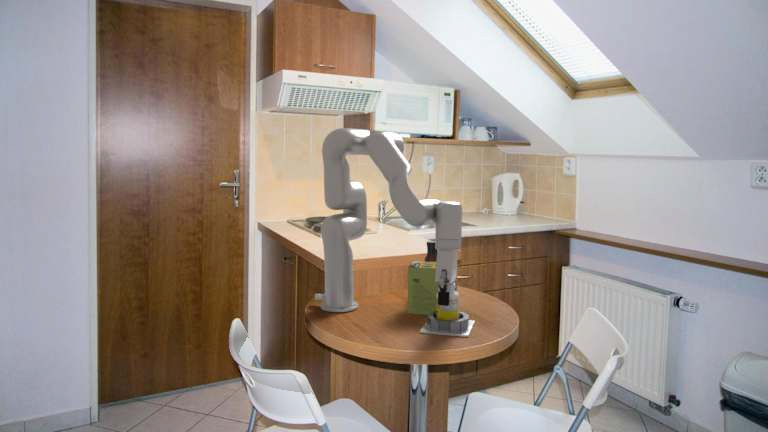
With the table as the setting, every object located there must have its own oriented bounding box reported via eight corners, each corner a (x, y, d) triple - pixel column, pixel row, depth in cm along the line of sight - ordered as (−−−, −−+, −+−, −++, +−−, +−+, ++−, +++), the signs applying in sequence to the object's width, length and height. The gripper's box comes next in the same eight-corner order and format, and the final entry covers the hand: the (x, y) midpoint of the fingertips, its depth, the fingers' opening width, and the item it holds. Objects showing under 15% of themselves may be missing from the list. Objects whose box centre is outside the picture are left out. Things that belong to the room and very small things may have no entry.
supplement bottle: (439, 321, 167) (439, 279, 165) (461, 323, 164) (461, 281, 163) (433, 327, 161) (433, 284, 159) (455, 330, 158) (455, 286, 157)
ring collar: (419, 332, 158) (419, 320, 158) (430, 318, 171) (430, 307, 171) (468, 337, 154) (468, 324, 153) (474, 322, 167) (475, 311, 167)
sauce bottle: (440, 292, 204) (441, 239, 201) (443, 296, 197) (444, 242, 195) (423, 292, 203) (423, 239, 201) (425, 297, 197) (425, 242, 195)
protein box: (455, 316, 173) (455, 268, 172) (407, 314, 177) (407, 267, 175) (457, 307, 184) (457, 262, 182) (412, 305, 187) (412, 260, 185)
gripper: (441, 238, 169) (439, 292, 171) (429, 248, 153) (427, 307, 155) (465, 239, 167) (463, 294, 169) (456, 249, 150) (454, 310, 153)
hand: (446, 300), depth 162 cm, fingers open, 9 cm apart
